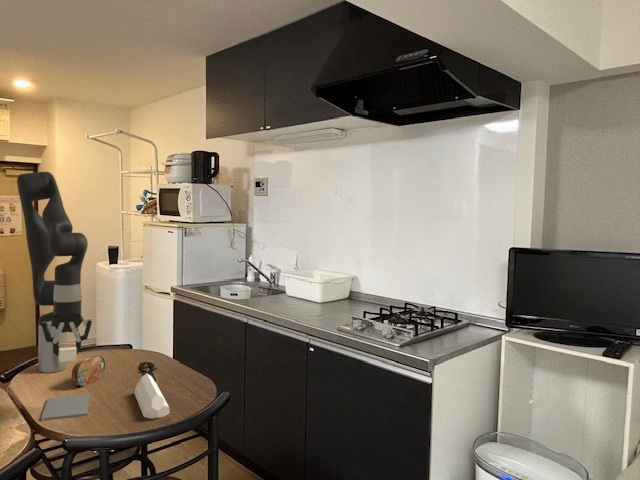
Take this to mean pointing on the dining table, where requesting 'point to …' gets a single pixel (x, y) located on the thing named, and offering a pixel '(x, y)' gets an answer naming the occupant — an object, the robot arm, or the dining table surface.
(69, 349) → the card box
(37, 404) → the dining table surface
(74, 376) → the tin
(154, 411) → the crystal
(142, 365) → the knife
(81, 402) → the mat
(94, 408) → the dining table surface
